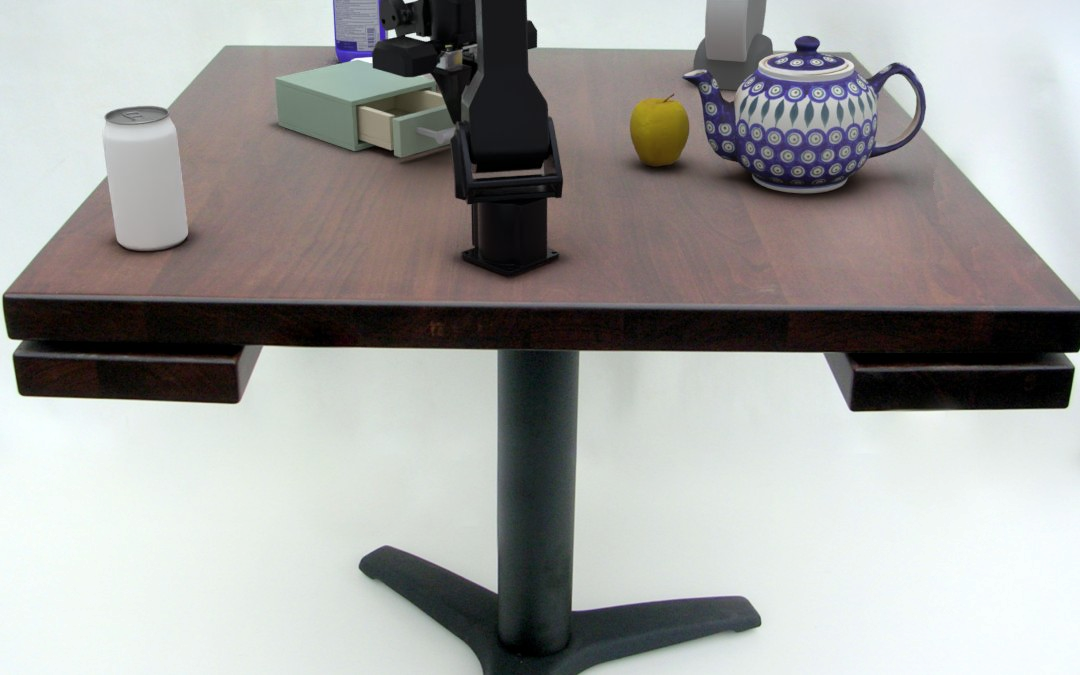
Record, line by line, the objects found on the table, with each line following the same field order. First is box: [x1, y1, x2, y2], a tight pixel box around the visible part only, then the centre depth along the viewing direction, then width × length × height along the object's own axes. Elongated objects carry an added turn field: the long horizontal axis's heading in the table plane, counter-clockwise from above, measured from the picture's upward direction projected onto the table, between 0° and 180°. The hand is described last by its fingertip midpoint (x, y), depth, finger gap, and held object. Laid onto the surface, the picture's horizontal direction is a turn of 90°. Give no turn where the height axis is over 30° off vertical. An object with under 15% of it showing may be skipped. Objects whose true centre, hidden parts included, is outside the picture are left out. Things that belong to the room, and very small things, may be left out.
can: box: [101, 105, 189, 252], centre depth 124 cm, size 6×6×12 cm
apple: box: [629, 92, 690, 168], centre depth 145 cm, size 6×6×8 cm
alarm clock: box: [692, 0, 774, 91], centre depth 176 cm, size 16×10×18 cm, turn 162°
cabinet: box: [274, 60, 437, 152], centre depth 158 cm, size 14×12×6 cm
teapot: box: [681, 35, 927, 194], centre depth 140 cm, size 25×15×15 cm, turn 87°
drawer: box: [356, 89, 456, 159], centre depth 152 cm, size 18×11×4 cm, turn 45°
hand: (458, 124), depth 146 cm, fingers closed, pressing on drawer
